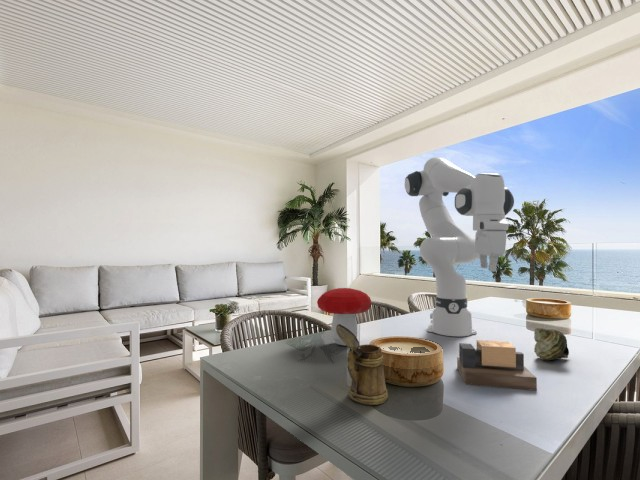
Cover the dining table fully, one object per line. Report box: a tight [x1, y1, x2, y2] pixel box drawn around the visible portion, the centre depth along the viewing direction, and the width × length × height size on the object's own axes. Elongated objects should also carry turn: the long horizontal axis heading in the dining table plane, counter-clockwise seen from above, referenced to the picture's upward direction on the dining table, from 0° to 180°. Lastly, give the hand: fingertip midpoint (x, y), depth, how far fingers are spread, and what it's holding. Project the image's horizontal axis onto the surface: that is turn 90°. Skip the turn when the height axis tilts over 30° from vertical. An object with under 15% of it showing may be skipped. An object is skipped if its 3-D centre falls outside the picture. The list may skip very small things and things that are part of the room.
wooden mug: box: [336, 324, 389, 406], centre depth 76 cm, size 9×14×18 cm, turn 127°
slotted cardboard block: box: [475, 339, 517, 368], centre depth 89 cm, size 6×8×5 cm
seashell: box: [533, 327, 570, 361], centre depth 103 cm, size 11×11×10 cm
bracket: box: [456, 342, 538, 391], centre depth 89 cm, size 12×16×8 cm
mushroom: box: [316, 287, 372, 346], centre depth 120 cm, size 20×19×20 cm
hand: (488, 269), depth 104 cm, fingers open, 8 cm apart
